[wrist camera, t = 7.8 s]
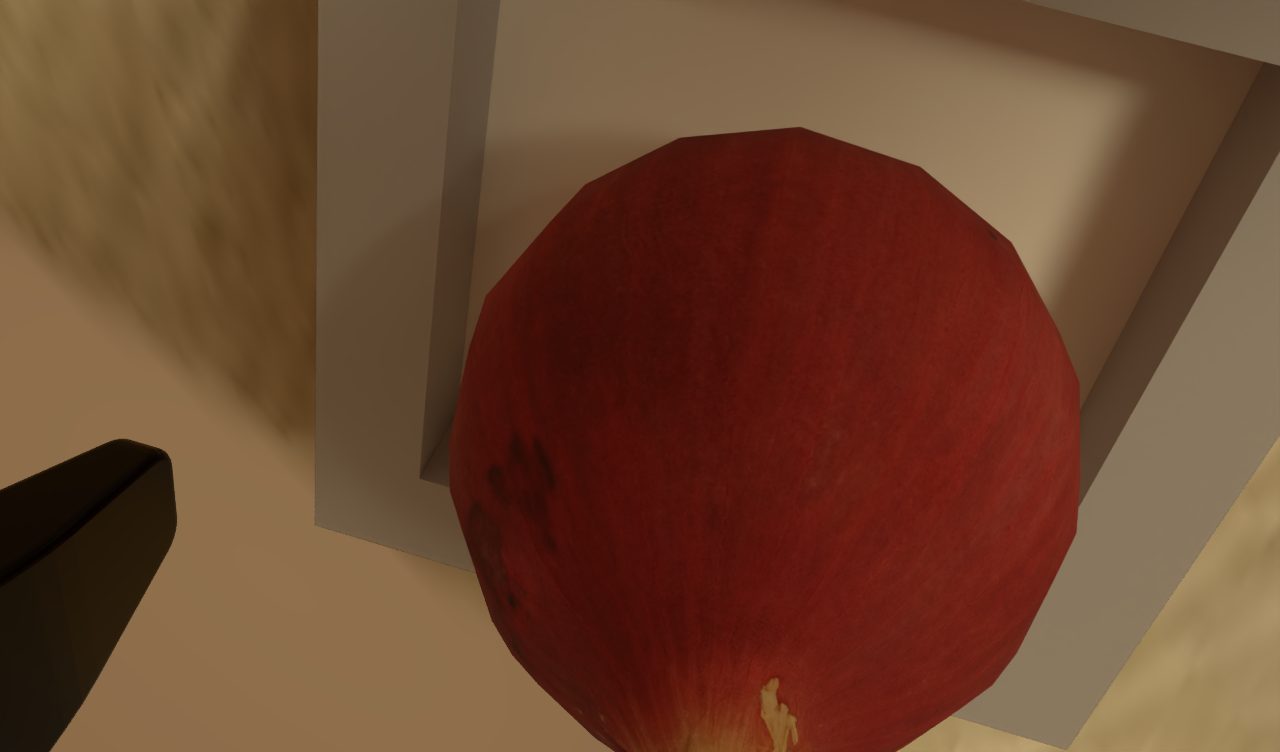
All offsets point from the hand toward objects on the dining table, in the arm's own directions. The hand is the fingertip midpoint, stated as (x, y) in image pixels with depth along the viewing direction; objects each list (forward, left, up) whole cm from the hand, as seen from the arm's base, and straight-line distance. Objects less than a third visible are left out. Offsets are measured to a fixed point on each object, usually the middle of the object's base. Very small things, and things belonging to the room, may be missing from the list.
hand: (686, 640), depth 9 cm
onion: (0, 0, -6) cm, 6 cm away
